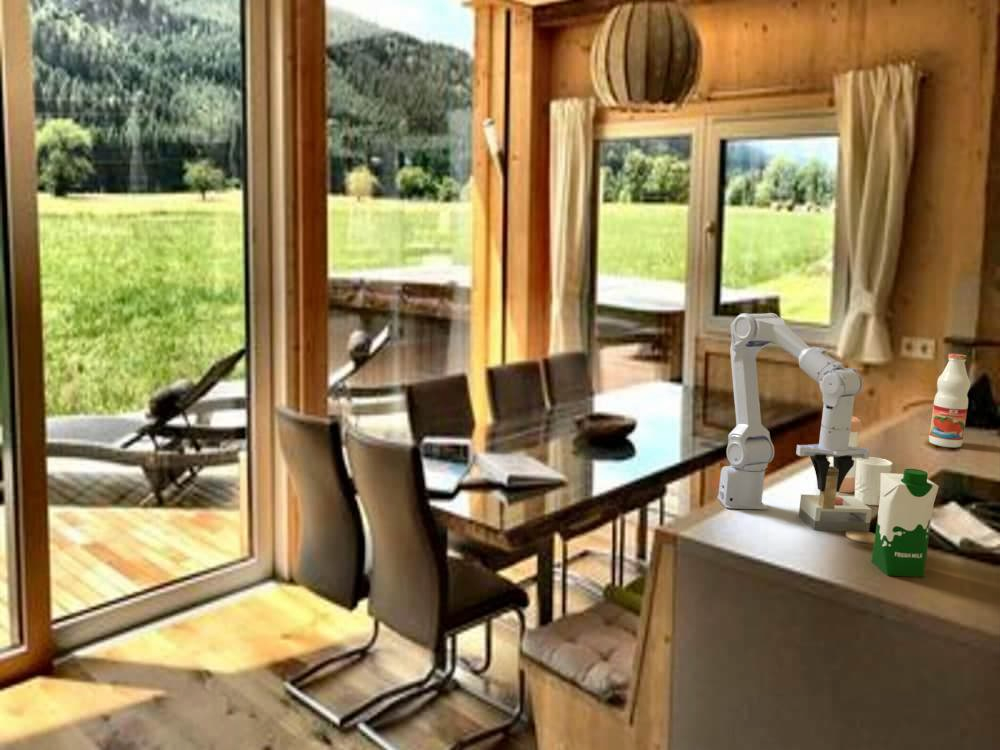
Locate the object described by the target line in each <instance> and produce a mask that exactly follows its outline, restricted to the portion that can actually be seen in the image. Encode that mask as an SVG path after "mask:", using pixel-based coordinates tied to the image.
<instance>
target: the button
mask: <svg viewBox="0 0 1000 750" xmlns="http://www.w3.org/2000/svg"><path fill="white" fill-rule="evenodd" d="M837 496H838V495H836V498H835V505H843V506H844V503H843V498H841V497H837Z"/></svg>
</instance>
